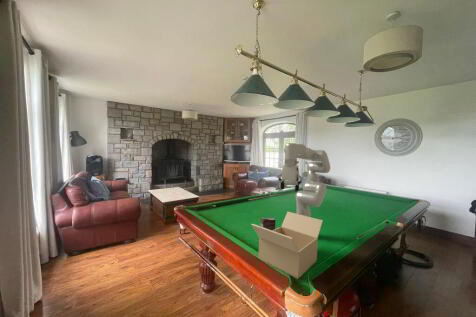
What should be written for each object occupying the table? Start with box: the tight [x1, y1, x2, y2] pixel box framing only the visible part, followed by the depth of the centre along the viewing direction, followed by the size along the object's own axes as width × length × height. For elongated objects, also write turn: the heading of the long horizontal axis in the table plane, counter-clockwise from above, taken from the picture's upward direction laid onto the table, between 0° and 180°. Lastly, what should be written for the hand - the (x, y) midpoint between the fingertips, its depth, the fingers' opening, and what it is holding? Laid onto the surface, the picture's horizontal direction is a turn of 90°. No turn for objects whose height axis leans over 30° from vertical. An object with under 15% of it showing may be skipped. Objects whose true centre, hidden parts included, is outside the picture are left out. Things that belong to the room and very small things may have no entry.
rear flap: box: [280, 211, 324, 238], centre depth 107 cm, size 11×22×1 cm
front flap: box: [250, 223, 298, 253], centre depth 86 cm, size 11×22×1 cm
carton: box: [257, 226, 319, 280], centre depth 96 cm, size 22×22×12 cm
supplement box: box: [259, 217, 276, 230], centre depth 114 cm, size 9×5×16 cm, turn 108°
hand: (289, 190), depth 114 cm, fingers open, 9 cm apart
